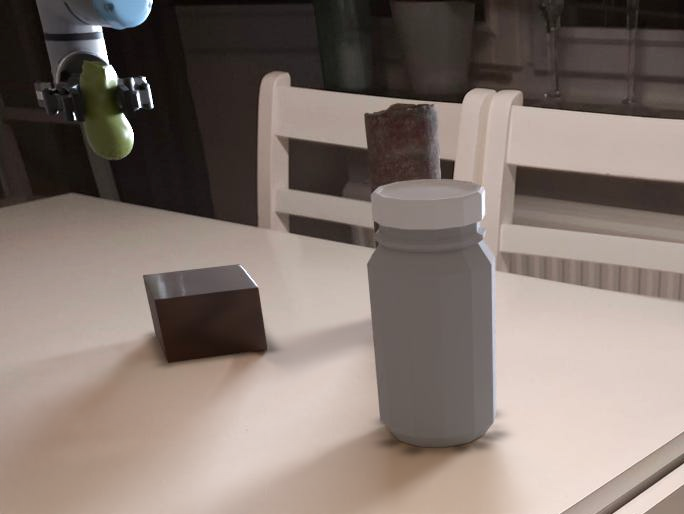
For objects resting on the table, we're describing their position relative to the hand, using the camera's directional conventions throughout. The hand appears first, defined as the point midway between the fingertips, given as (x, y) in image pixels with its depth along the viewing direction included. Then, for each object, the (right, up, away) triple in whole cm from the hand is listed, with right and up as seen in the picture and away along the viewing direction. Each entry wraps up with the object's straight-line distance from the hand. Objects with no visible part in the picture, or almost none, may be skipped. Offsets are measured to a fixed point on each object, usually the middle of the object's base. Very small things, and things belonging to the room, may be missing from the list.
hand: (104, 106), depth 113 cm
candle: (+35, -25, -3) cm, 44 cm away
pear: (-2, -2, +8) cm, 8 cm away
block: (+14, -30, -9) cm, 34 cm away
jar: (+39, -45, -29) cm, 66 cm away
